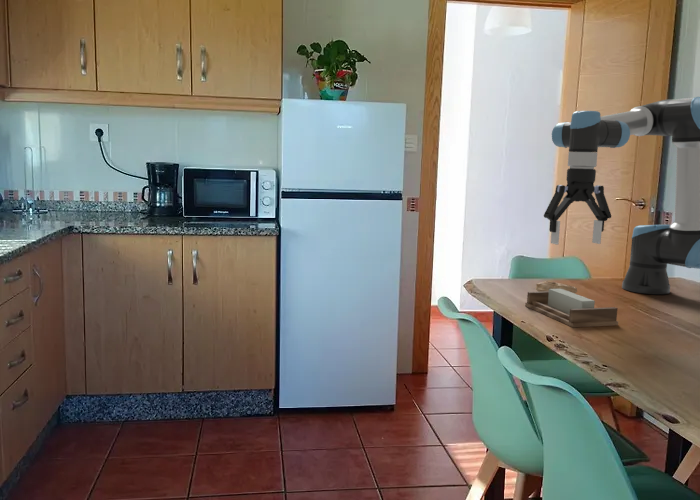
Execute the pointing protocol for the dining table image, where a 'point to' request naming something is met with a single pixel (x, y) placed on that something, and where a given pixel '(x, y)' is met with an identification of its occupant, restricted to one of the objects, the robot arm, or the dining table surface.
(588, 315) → the cradle rack
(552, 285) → the pottery oil lamp
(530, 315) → the dining table surface
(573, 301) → the greenware bar
